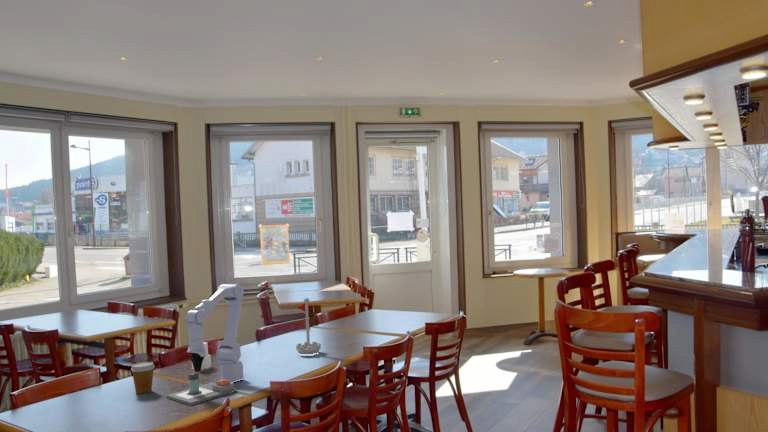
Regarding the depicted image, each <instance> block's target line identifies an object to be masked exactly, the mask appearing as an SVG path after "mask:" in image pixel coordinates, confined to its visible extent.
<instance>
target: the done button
mask: <svg viewBox="0 0 768 432" xmlns="http://www.w3.org/2000/svg"><path fill="white" fill-rule="evenodd" d="M215 383H216V385H217V386H221V387H222V386H225V385H229V384H230V381H229V380H226V379H222V380H221V379H220V380H215Z"/></svg>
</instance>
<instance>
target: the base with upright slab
mask: <svg viewBox="0 0 768 432" xmlns="http://www.w3.org/2000/svg"><path fill="white" fill-rule="evenodd" d="M203 342H204V349H205V351H206V356H205V357H204V359H203V362H202V366H201V369H204V368H208V367H210V366H211V367H212V361H211V360H212V359H211V358H212V356H211V354H209V348H208V347H209V345H208V342H207V341H206V342H205V341H203ZM192 369H194V367H193V364H192V363H191V370H192Z"/></svg>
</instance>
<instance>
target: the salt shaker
mask: <svg viewBox="0 0 768 432" xmlns="http://www.w3.org/2000/svg"><path fill="white" fill-rule="evenodd" d="M199 373H200V372H190V373H188V376H187V379H188V389H189V394H198V393H199V386H200V379H199V378H200V376H199Z"/></svg>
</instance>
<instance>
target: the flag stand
mask: <svg viewBox="0 0 768 432" xmlns="http://www.w3.org/2000/svg"><path fill="white" fill-rule="evenodd" d="M303 303H304V304H301V305H299V306H298V307H297V309H298V310H301V311H302V312H304V313H305V328H306V329H305V331H306V341H304V342H303V344H302V343H301V342H300V343H299V342H298V343H297V344H295V349H296V351H297V352H298V353H300V354H313V353H317V352H319V353H320V350H321V349H322V347H321V346H322V343H321V342H318V341H312V343H310V341H311V340H310V321H309V319H310V318H309V303H310V299H309V298H308V297H305V298H304V299H303ZM298 353H297V354H298Z"/></svg>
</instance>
